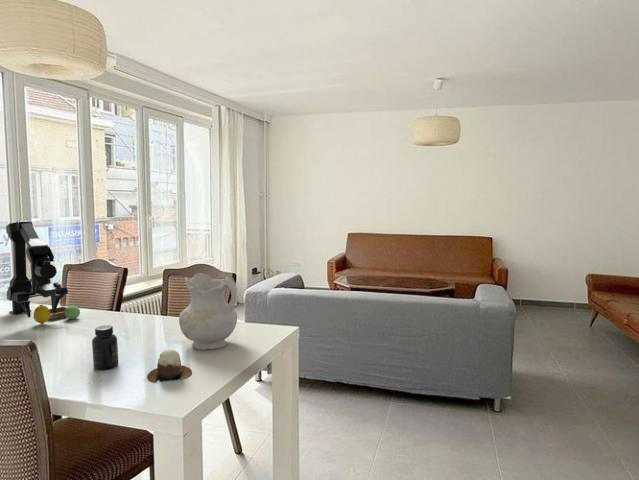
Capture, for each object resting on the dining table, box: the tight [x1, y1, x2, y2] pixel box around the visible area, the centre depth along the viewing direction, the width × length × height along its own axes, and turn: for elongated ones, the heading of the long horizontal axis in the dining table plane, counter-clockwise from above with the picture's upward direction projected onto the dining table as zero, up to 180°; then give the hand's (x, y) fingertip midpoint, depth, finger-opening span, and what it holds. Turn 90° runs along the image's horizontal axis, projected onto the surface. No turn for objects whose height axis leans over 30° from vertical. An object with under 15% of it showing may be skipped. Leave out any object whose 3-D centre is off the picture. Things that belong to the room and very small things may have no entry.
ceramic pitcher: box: [178, 272, 238, 351], centre depth 155 cm, size 22×20×25 cm
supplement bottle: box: [91, 325, 119, 371], centre depth 135 cm, size 7×7×12 cm
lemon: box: [33, 304, 50, 325], centre depth 181 cm, size 6×6×8 cm
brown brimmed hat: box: [146, 348, 193, 384], centre depth 129 cm, size 12×10×10 cm
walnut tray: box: [48, 306, 69, 321], centre depth 194 cm, size 11×11×2 cm
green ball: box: [65, 305, 81, 320], centre depth 189 cm, size 6×6×6 cm
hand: (41, 314), depth 181 cm, fingers open, 9 cm apart
